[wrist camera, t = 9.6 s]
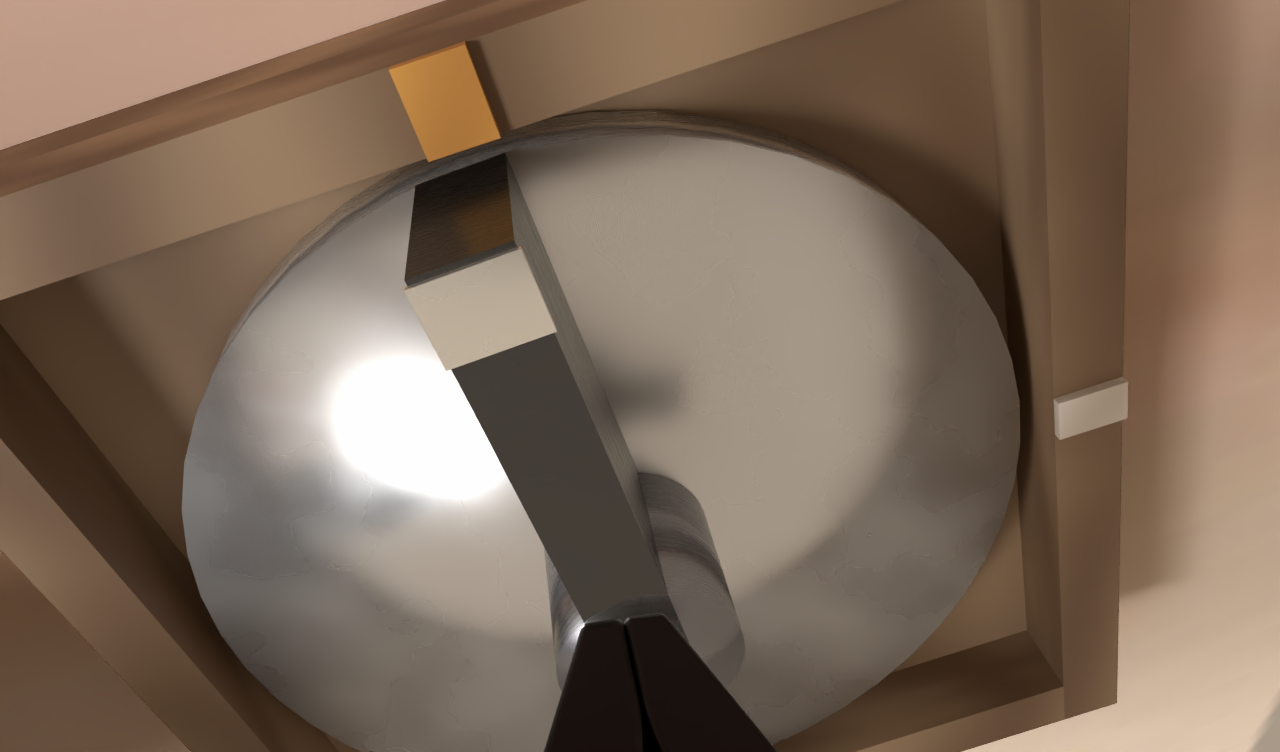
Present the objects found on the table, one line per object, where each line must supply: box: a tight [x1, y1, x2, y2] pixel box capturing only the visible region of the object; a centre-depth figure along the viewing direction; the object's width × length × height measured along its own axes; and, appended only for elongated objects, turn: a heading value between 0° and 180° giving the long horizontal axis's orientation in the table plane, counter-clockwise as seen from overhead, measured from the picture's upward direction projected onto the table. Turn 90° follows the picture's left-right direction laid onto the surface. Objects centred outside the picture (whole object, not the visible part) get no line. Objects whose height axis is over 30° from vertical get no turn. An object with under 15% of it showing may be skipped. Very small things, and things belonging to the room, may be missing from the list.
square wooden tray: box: [0, 0, 1130, 752], centre depth 22 cm, size 22×22×4 cm
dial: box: [182, 110, 1020, 752], centre depth 20 cm, size 18×18×5 cm
